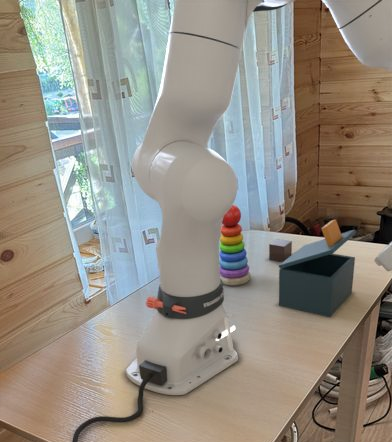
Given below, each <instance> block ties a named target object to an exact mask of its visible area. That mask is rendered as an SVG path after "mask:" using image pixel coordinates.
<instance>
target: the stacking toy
mask: <svg viewBox="0 0 392 442" xmlns="http://www.w3.org/2000/svg"><path fill="white" fill-rule="evenodd" d="M241 219H242V213H241V210H240V208H239V207H238V206H237V205H235V204H233V205H232V207H231V208H230V209H229V211H228V212H227V213H226V214H225V215H224V217H223V221H222V225H221V230H220V236H219V266H220V279H221V280H222V282H223V285H226V286H241V285H243V284H245V283H247V282H248V281H250V279H251V272H250V265H249V264H248V262H249V258H248V257H247V250H246V248H245V247H246V245H245V242H244V235H243V233H242V231H243V227H242V225H240V224H239V223H240V221H241Z"/></svg>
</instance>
